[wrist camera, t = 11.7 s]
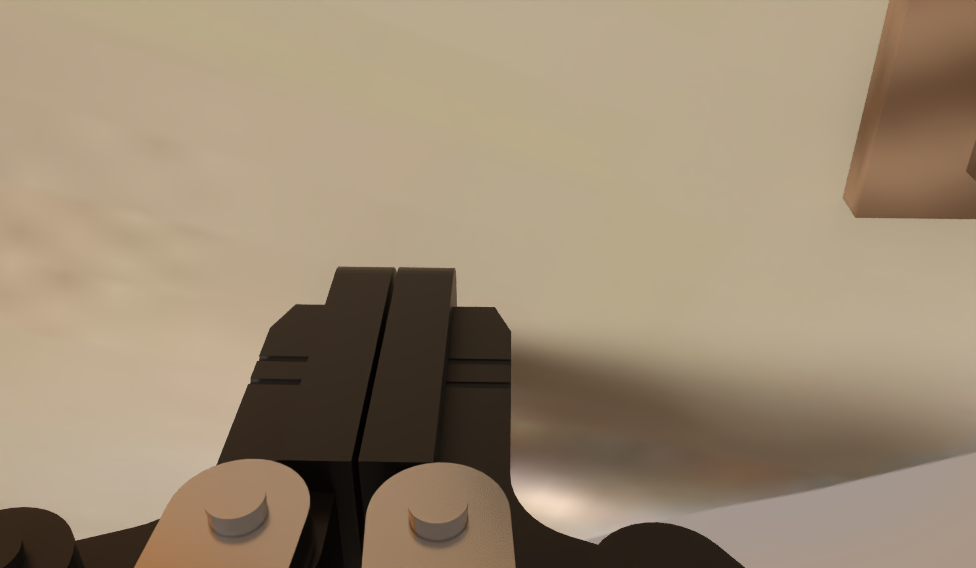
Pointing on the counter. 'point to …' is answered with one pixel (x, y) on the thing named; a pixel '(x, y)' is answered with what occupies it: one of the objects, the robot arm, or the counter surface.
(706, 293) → the counter surface
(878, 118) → the valve rig
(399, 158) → the counter surface
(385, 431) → the robot arm
